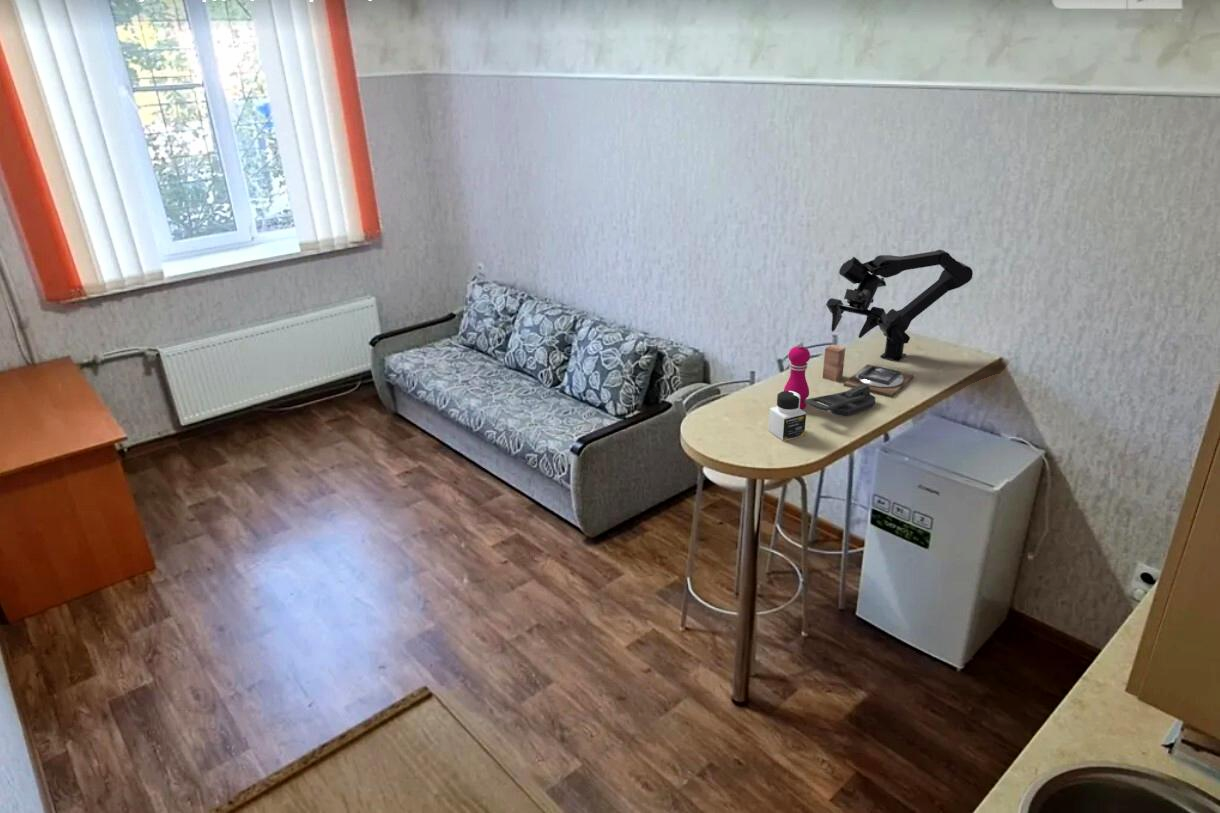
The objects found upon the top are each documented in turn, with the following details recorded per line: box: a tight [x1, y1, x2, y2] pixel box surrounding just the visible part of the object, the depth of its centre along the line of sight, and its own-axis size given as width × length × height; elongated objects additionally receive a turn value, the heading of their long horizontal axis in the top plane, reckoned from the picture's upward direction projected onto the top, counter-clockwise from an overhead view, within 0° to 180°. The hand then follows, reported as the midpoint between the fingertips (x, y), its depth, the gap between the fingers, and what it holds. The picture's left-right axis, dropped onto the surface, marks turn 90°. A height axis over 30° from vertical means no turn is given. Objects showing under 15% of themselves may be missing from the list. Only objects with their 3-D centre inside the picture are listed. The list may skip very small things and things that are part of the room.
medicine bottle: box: [768, 390, 807, 442], centre depth 210 cm, size 7×7×12 cm
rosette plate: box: [855, 364, 903, 388], centre depth 239 cm, size 14×14×2 cm
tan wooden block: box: [822, 344, 846, 382], centre depth 242 cm, size 4×4×10 cm
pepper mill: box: [783, 341, 811, 410], centre depth 223 cm, size 7×7×20 cm
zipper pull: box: [805, 384, 876, 418], centre depth 221 cm, size 9×7×25 cm
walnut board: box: [843, 364, 915, 398], centre depth 240 cm, size 18×15×1 cm
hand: (845, 334), depth 243 cm, fingers open, 9 cm apart
